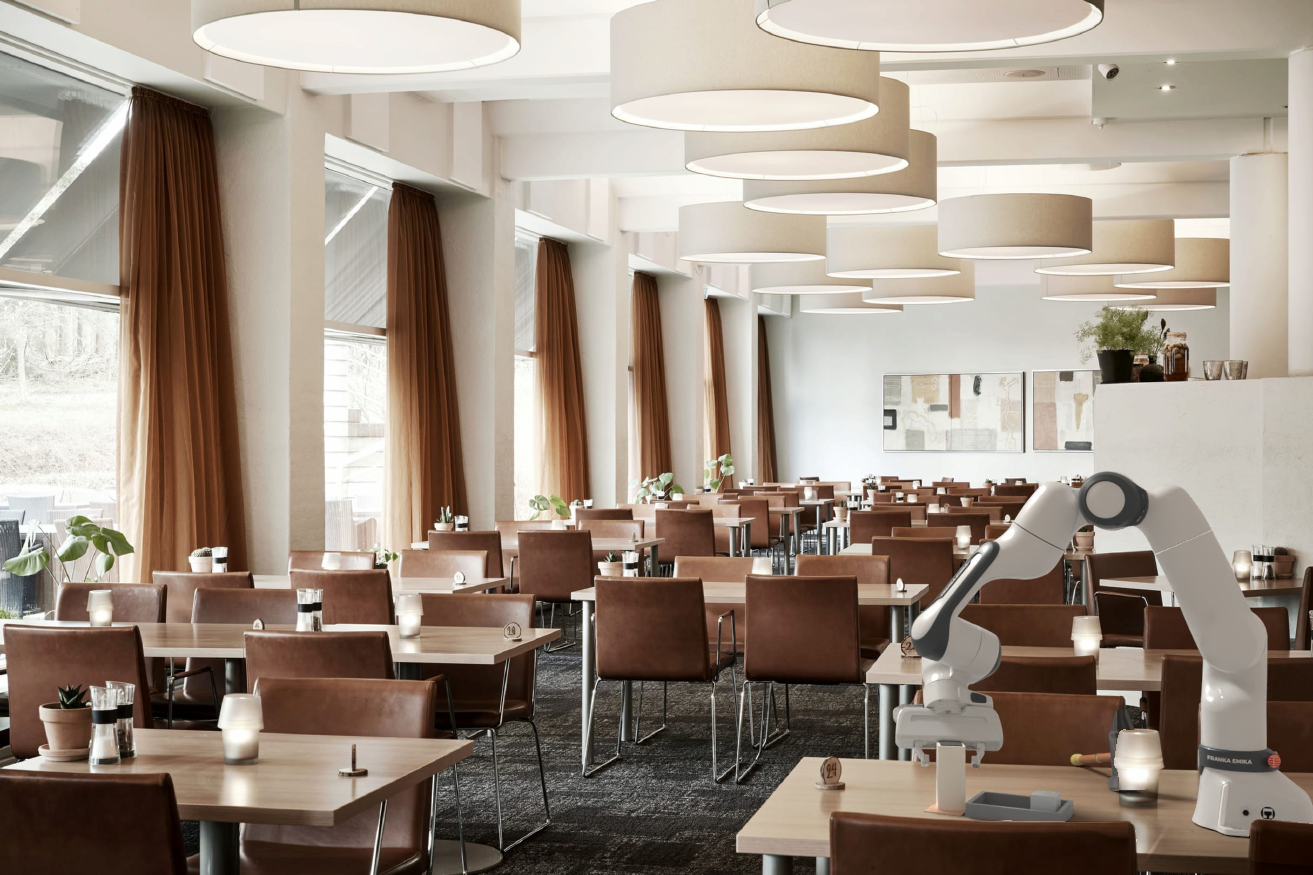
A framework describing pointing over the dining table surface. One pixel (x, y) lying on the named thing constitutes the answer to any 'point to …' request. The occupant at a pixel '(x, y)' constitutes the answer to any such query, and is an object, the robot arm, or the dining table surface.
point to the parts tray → (1013, 808)
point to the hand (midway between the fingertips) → (950, 765)
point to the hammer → (1119, 724)
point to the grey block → (1045, 801)
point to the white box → (950, 775)
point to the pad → (934, 809)
